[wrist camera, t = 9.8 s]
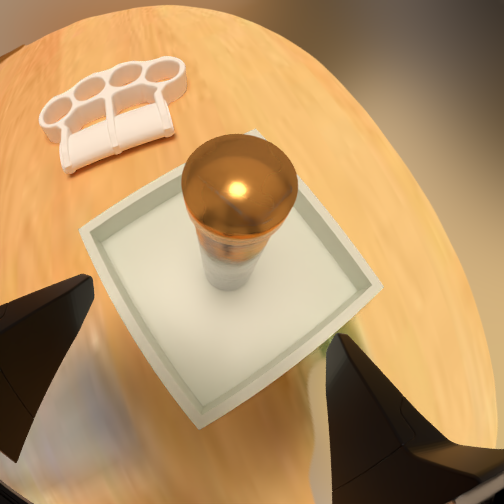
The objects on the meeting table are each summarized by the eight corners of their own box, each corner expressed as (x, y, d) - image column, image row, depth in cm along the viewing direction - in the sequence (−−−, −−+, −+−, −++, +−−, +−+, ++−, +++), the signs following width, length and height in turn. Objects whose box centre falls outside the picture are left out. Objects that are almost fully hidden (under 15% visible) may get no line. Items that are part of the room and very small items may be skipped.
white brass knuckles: (47, 192, 23) (52, 107, 26) (207, 133, 26) (177, 62, 30) (31, 176, 20) (43, 90, 23) (206, 110, 23) (175, 42, 27)
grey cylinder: (255, 292, 21) (305, 232, 9) (202, 294, 21) (178, 235, 9) (252, 242, 23) (290, 135, 10) (201, 244, 22) (184, 134, 10)
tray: (366, 293, 23) (384, 287, 20) (201, 418, 18) (199, 430, 16) (251, 148, 26) (255, 128, 23) (92, 242, 22) (78, 229, 19)
